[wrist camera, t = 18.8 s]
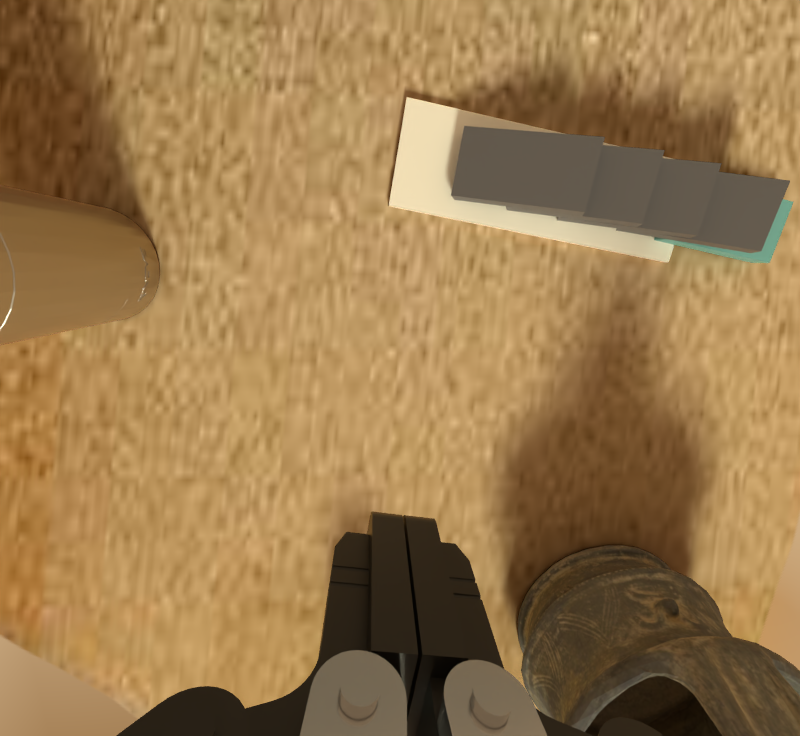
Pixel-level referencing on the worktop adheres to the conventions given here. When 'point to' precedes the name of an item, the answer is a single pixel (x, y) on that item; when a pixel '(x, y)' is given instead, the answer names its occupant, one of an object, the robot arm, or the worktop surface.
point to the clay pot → (646, 652)
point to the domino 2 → (618, 187)
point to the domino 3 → (674, 199)
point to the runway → (431, 194)
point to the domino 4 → (736, 213)
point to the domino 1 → (526, 169)
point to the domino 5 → (755, 257)
